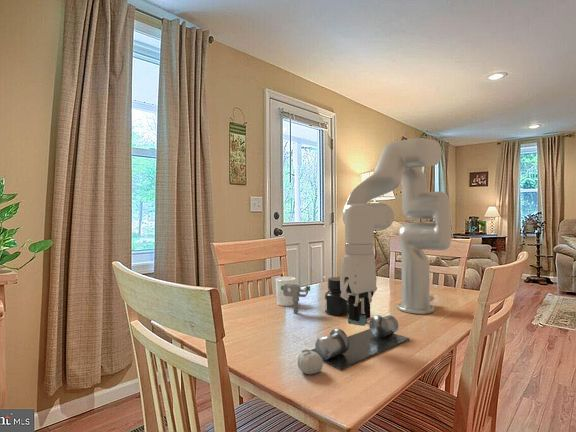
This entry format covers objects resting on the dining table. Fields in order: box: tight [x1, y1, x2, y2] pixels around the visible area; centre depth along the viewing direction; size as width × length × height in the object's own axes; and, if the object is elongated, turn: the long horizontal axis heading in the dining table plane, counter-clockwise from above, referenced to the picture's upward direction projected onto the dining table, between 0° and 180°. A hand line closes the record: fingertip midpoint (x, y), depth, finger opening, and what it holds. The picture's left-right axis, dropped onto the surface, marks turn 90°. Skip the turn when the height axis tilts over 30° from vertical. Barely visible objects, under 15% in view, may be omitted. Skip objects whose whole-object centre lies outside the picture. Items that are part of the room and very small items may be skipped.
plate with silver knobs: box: [308, 315, 410, 371], centre depth 92 cm, size 28×12×6 cm, turn 129°
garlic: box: [297, 348, 324, 375], centre depth 78 cm, size 6×5×5 cm
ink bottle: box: [324, 276, 349, 317], centre depth 123 cm, size 10×9×12 cm
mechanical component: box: [281, 283, 311, 315], centre depth 122 cm, size 3×10×10 cm, turn 79°
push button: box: [347, 292, 372, 327], centre depth 92 cm, size 7×5×10 cm
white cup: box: [275, 276, 297, 307], centre depth 135 cm, size 8×8×10 cm
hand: (359, 317), depth 92 cm, fingers closed on push button, 3 cm apart
